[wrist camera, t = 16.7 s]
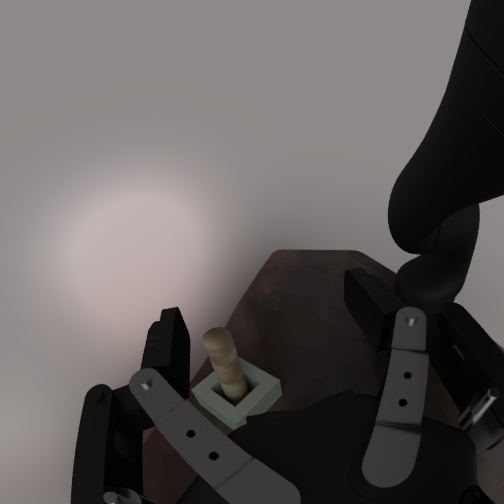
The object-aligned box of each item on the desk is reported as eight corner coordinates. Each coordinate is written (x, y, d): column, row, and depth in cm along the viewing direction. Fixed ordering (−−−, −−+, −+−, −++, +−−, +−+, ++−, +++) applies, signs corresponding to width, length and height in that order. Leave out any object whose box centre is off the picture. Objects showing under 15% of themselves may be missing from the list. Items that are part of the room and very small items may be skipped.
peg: (239, 388, 43) (217, 323, 36) (256, 398, 41) (237, 334, 33) (224, 402, 41) (196, 339, 33) (240, 413, 38) (215, 352, 31)
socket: (238, 369, 47) (234, 353, 45) (282, 394, 40) (279, 380, 38) (199, 403, 41) (191, 389, 39) (241, 435, 34) (235, 424, 32)
